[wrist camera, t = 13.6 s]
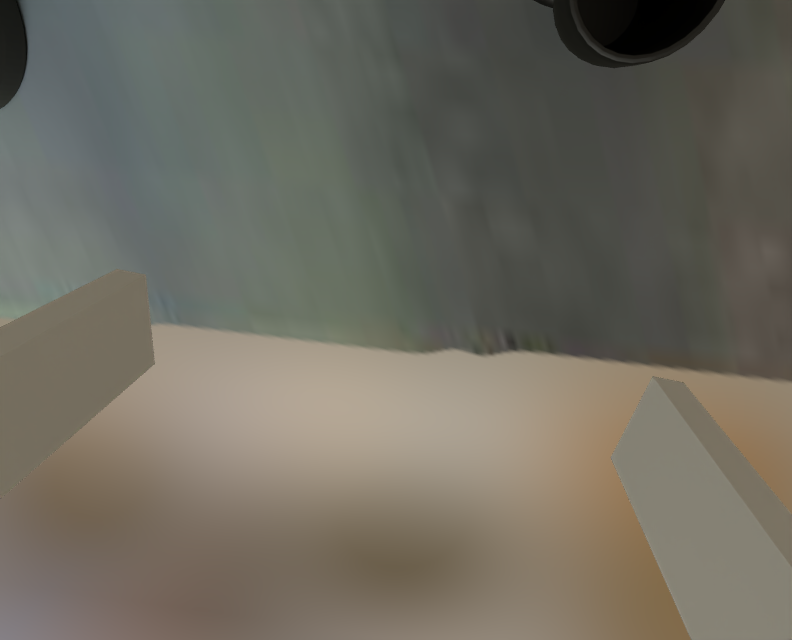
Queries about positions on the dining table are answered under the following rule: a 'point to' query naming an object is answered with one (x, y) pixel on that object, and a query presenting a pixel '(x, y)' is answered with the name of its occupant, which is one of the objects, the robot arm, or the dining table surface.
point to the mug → (629, 28)
